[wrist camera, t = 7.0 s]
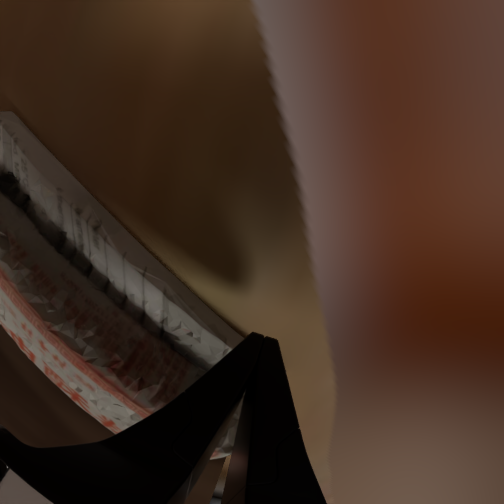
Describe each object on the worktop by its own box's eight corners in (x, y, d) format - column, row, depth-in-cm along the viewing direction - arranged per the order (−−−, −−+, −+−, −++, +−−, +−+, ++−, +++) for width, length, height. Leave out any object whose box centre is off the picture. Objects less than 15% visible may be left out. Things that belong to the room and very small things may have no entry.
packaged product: (277, 464, 8) (155, 477, 13) (297, 364, 12) (184, 417, 17) (-64, 125, 5) (-58, 268, 10) (17, 103, 9) (-8, 234, 14)
